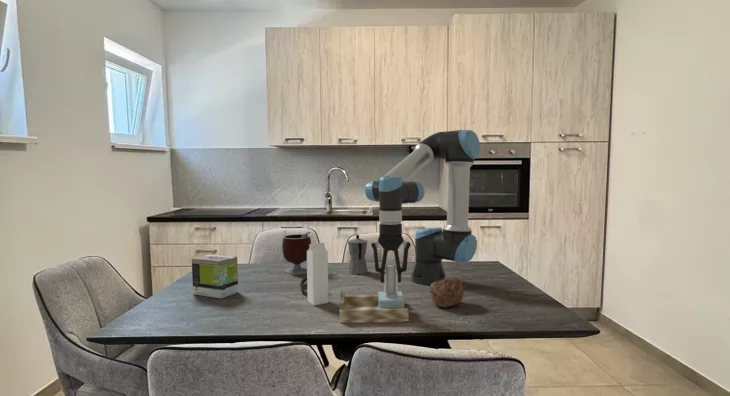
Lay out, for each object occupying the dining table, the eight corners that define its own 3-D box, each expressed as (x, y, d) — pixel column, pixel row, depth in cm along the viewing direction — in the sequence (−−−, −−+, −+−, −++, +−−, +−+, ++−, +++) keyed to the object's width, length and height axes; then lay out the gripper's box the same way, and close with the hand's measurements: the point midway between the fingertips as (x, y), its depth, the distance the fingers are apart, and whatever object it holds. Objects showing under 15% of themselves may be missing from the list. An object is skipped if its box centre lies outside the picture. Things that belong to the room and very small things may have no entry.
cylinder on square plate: (401, 304, 137) (401, 262, 136) (405, 315, 127) (404, 270, 126) (377, 305, 137) (377, 263, 136) (379, 315, 127) (379, 270, 126)
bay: (402, 302, 144) (402, 286, 143) (409, 321, 125) (409, 303, 125) (342, 303, 143) (341, 287, 143) (339, 322, 125) (339, 304, 124)
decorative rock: (458, 298, 147) (458, 272, 147) (471, 309, 136) (471, 280, 136) (424, 301, 145) (424, 274, 145) (435, 311, 134) (435, 283, 133)
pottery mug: (326, 296, 152) (315, 280, 150) (305, 306, 154) (294, 290, 152) (330, 280, 164) (320, 265, 162) (310, 289, 166) (300, 274, 163)
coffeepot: (346, 269, 193) (346, 233, 192) (365, 268, 194) (365, 232, 193) (350, 277, 178) (350, 238, 177) (370, 276, 179) (370, 237, 178)
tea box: (239, 292, 158) (238, 256, 157) (220, 299, 148) (219, 261, 147) (211, 287, 164) (210, 253, 163) (191, 294, 155) (190, 257, 154)
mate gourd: (276, 272, 188) (275, 231, 187) (297, 266, 200) (296, 227, 198) (300, 277, 179) (299, 233, 178) (320, 270, 191) (319, 229, 189)
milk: (328, 303, 144) (328, 243, 142) (313, 305, 141) (312, 245, 139) (322, 298, 149) (321, 241, 148) (307, 300, 146) (306, 242, 145)
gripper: (413, 221, 134) (413, 288, 136) (366, 221, 134) (366, 288, 136) (416, 224, 127) (416, 295, 128) (366, 224, 126) (367, 295, 128)
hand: (390, 291), depth 132 cm, fingers closed on cylinder on square plate, 3 cm apart
